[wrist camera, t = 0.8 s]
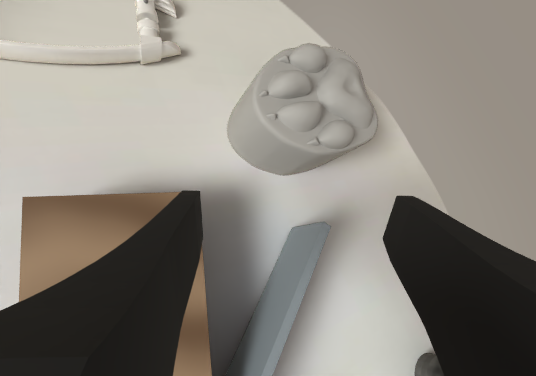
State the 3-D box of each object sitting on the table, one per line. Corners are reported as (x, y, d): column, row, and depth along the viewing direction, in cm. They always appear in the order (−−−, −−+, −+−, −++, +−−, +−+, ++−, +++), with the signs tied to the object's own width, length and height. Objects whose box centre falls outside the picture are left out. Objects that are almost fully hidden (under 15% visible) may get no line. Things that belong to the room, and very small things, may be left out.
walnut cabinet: (198, 424, 23) (218, 472, 18) (42, 481, 19) (9, 566, 14) (184, 205, 27) (198, 191, 21) (48, 211, 22) (22, 197, 17)
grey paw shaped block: (341, 161, 35) (400, 133, 28) (244, 188, 30) (285, 163, 22) (312, 81, 36) (361, 33, 29) (212, 92, 30) (240, 36, 23)
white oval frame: (-208, -82, 20) (172, -5, 31) (-224, 47, 19) (183, 81, 30) (-253, -128, 18) (176, -28, 29) (-276, 16, 16) (187, 65, 27)
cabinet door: (224, 428, 24) (249, 472, 19) (205, 420, 23) (225, 463, 18) (305, 236, 31) (339, 232, 26) (292, 227, 30) (324, 221, 25)
